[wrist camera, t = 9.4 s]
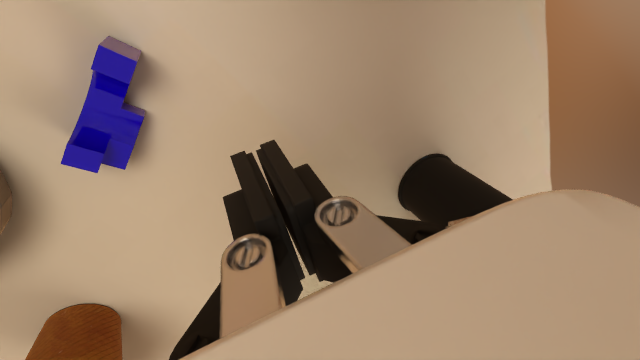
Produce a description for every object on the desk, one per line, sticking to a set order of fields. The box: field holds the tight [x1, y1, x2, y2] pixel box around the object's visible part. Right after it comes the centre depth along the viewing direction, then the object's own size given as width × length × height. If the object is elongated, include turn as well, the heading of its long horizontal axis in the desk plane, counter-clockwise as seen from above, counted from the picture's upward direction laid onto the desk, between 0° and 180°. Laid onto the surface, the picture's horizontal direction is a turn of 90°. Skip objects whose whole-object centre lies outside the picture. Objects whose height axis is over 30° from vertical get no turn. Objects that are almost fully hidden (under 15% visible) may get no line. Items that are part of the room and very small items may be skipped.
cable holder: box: [61, 36, 145, 173], centre depth 22 cm, size 8×4×4 cm, turn 150°
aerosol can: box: [399, 154, 513, 227], centre depth 32 cm, size 8×8×20 cm
